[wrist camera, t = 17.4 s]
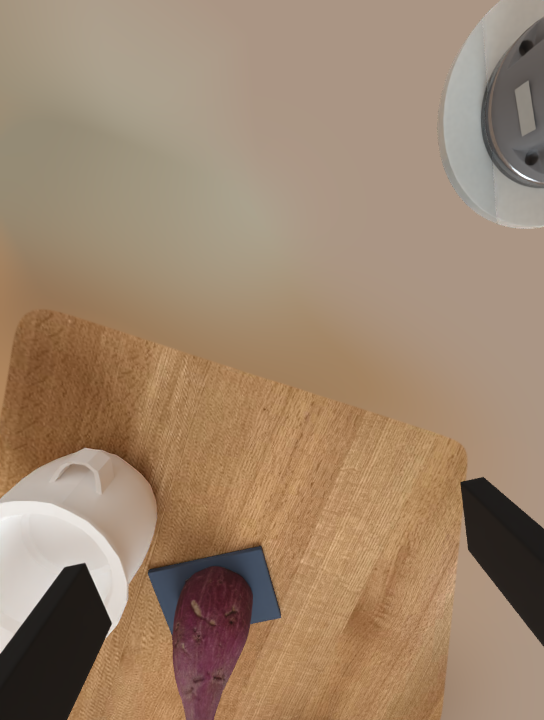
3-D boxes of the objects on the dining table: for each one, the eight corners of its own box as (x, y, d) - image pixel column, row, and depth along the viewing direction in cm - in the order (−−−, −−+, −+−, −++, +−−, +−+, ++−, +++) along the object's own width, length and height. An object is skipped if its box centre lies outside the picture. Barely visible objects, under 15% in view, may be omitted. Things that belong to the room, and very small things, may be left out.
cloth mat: (261, 545, 42) (261, 549, 41) (280, 613, 45) (281, 618, 44) (149, 569, 43) (147, 573, 42) (174, 635, 45) (173, 639, 44)
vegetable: (248, 601, 47) (255, 758, 34) (178, 606, 45) (157, 773, 32) (255, 561, 42) (266, 724, 29) (177, 565, 41) (152, 740, 28)
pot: (140, 583, 43) (91, 695, 31) (16, 545, 41) (-86, 648, 29) (191, 450, 39) (157, 520, 27) (55, 402, 37) (-45, 454, 25)
